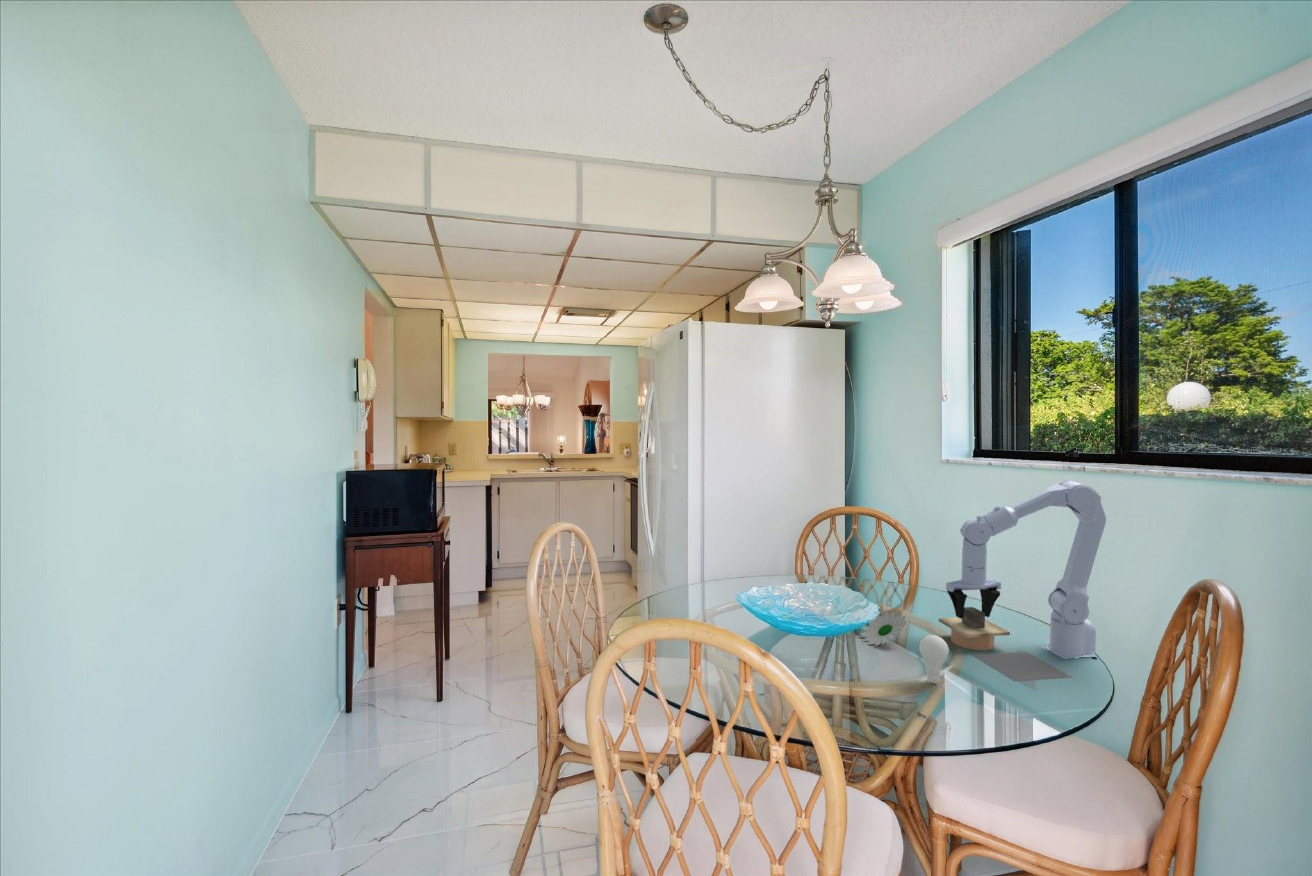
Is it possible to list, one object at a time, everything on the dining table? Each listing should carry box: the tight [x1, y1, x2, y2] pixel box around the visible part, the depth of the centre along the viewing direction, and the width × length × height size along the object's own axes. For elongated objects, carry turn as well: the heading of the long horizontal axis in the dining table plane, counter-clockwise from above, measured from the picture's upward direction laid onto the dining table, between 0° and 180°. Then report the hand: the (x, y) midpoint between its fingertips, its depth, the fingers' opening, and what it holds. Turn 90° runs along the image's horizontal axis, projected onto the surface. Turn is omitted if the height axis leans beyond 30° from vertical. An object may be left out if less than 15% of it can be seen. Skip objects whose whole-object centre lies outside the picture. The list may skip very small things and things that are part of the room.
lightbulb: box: [918, 634, 950, 685], centre depth 139 cm, size 6×6×11 cm
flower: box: [859, 609, 907, 647], centre depth 173 cm, size 13×6×30 cm
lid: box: [938, 606, 1011, 638], centre depth 162 cm, size 12×12×5 cm
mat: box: [971, 651, 1073, 682], centre depth 148 cm, size 15×15×1 cm
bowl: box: [950, 628, 995, 651], centre depth 163 cm, size 10×10×4 cm
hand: (972, 616), depth 162 cm, fingers open, 7 cm apart
